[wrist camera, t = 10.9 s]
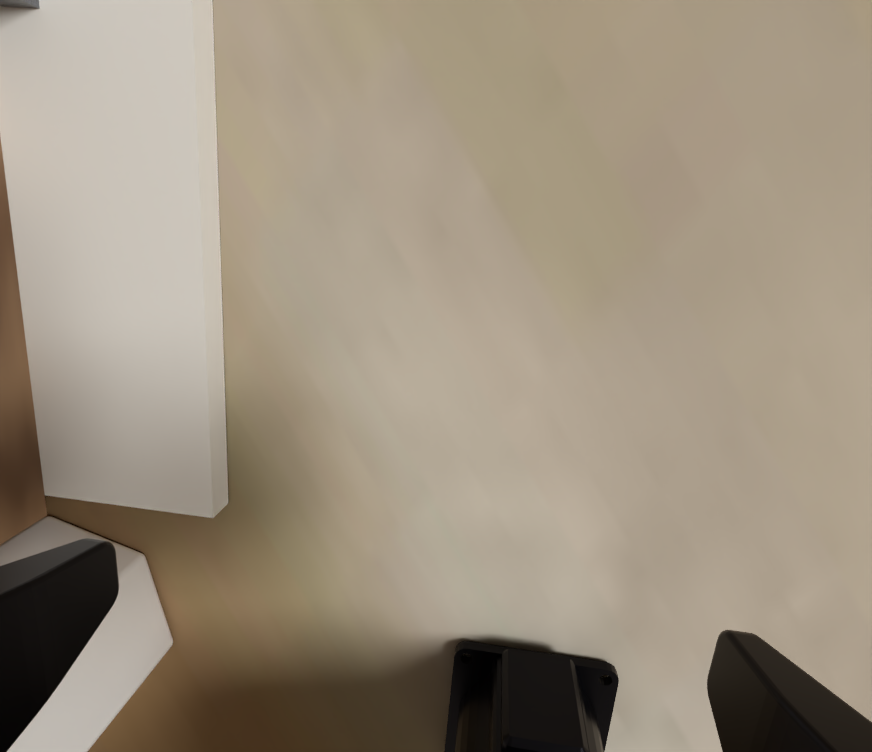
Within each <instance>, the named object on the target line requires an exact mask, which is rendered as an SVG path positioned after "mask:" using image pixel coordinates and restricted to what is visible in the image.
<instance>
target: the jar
mask: <svg viewBox="0 0 872 752" xmlns="http://www.w3.org/2000/svg"><path fill="white" fill-rule="evenodd" d="M85 538H90V539H97V540H104V541H109V542H111V543H112V544H113V545H114V547H115V550H116V559H117V569H118V579H119V592H118V596H117V599H116V601H115V603H114V605H113V606H112V608H111V609H110V611H109V612H108V614H107V615H106V617H105V618H104V620H103V621H102V623H101V624H100V625H99V627H98V628H97V630H96V631H95V633H94V634H93V636H92V637H91V639H90V640H89V642H88V643H87V645H86V646H85V648H84V649H83V650H82V652H81V653H80V655H79V656H78V658H77V659H76V661H75V662H74V664H73V665H72V667H71V668H70V670H69V671H68V672H67V674H66V675H65V677H64V678H63V680H62V681H61V683H60V684H59V686H58V687H57V688H56V690H55V691H54V692H53V694H52V695H51V697H50V698H49V699H48V701H47V702H46V703H45V705H44V706H43V707H42V709H41V710H40V711H39V712H38V714H37V715H36V716H35V718H34V719H33V720H32V721H31V722H30V724H29V725H28V726H27V727H26V729H25V730H24V731H23V732H22V734H21V735H20V736H19V737H18V739H17V740H16V741H15V742H14V743H13V745H12V746H11V747H10V748H9V750H8V751H7V752H88V751H89V749H90V748H91V747H92V745H93V744H94V743H95V742H96V740H97V739H98V738H99V737H100V735H101V734H102V733H103V732H104V730H105V729H106V728H107V727H108V725H109V724H110V723H111V722H112V720H113V719H114V718H115V717H116V715H117V714H118V713H119V712H120V710H121V709H122V708H123V707H124V705H125V704H126V703H127V702H128V700H129V699H130V698H131V697H132V695H133V694H134V693H135V692H136V690H137V689H138V688H139V687H140V685H141V684H142V683H143V682H144V680H145V679H146V678H147V677H148V675H149V674H150V673H151V672H152V670H153V669H154V668H155V667H156V665H157V664H158V663H159V661H160V660H161V659H162V658H163V656H164V655H165V654H166V653H167V651H168V650H169V649H170V648H171V646H172V644H173V638H172V635H171V632H170V629H169V626H168V623H167V620H166V617H165V614H164V611H163V608H162V605H161V602H160V599H159V596H158V593H157V590H156V587H155V584H154V581H153V578H152V575H151V572H150V569H149V566H148V563H147V560H146V557H145V555H144V554H142V553H140V552H138V551H135V550H133V549H130V548H128V547H125V546H123V545H120V544H118V543H116V542H113V541H111V540H108V539H106V538H103V537H101V536H98V535H96V534H93V533H91V532H88V531H86V530H84V529H81V528H79V527H76V526H74V525H71V524H69V523H66V522H64V521H61V520H59V519H56V518H54V517H51V516H46V517H44V518H42V519H41V520H39V521H38V522H36V523H34V524H33V525H31V526H29V527H28V528H26V529H25V530H23V531H21V532H20V533H18V534H17V535H15V536H13V537H12V538H10V539H9V540H7V541H5V542H4V543H2V544H1V545H0V566H2V565H5V564H8V563H11V562H14V561H17V560H20V559H23V558H26V557H29V556H32V555H35V554H38V553H41V552H44V551H47V550H50V549H53V548H56V547H59V546H62V545H65V544H68V543H71V542H74V541H77V540H80V539H85Z"/></svg>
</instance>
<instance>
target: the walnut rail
mask: <svg viewBox="0 0 872 752" xmlns="http://www.w3.org/2000/svg"><path fill="white" fill-rule="evenodd" d="M46 516H47V510H46V502H45V494H44V486H43V477H42V469H41V461H40V453H39V445H38V437H37V429H36V421H35V413H34V405H33V396H32V388H31V380H30V372H29V364H28V356H27V348H26V340H25V332H24V324H23V315H22V307H21V299H20V291H19V283H18V275H17V267H16V259H15V251H14V243H13V234H12V226H11V218H10V210H9V202H8V194H7V186H6V178H5V170H4V162H3V153H2V145H1V137H0V545H1V544H2V543H4V542H5V541H7V540H9V539H10V538H12V537H13V536H15V535H17V534H18V533H20V532H21V531H23V530H25V529H26V528H28V527H29V526H31V525H33V524H34V523H36V522H38V521H39V520H41V519H42V518H44V517H46Z"/></svg>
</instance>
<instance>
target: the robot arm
mask: <svg viewBox="0 0 872 752" xmlns="http://www.w3.org/2000/svg"><path fill="white" fill-rule="evenodd" d="M118 592H119V579H118V569H117V559H116V550H115V547H114V545H113V544H112V543H111V542H109V541H104V540H97V539H90V538H85V539H80V540H77V541H74V542H71V543H68V544H65V545H62V546H59V547H56V548H53V549H50V550H47V551H44V552H41V553H38V554H35V555H32V556H29V557H26V558H23V559H20V560H17V561H14V562H11V563H8V564H5V565H2V566H0V752H7V751H8V750H9V748H10V747H11V746H12V745H13V743H14V742H15V741H16V740H17V739H18V737H19V736H20V735H21V734H22V732H23V731H24V730H25V729H26V727H27V726H28V725H29V724H30V722H31V721H32V720H33V719H34V718H35V716H36V715H37V714H38V712H39V711H40V710H41V709H42V707H43V706H44V705H45V703H46V702H47V701H48V699H49V698H50V697H51V695H52V694H53V692H54V691H55V690H56V688H57V687H58V686H59V684H60V683H61V681H62V680H63V678H64V677H65V675H66V674H67V672H68V671H69V670H70V668H71V667H72V665H73V664H74V662H75V661H76V659H77V658H78V656H79V655H80V653H81V652H82V650H83V649H84V648H85V646H86V645H87V643H88V642H89V640H90V639H91V637H92V636H93V634H94V633H95V631H96V630H97V628H98V627H99V625H100V624H101V623H102V621H103V620H104V618H105V617H106V615H107V614H108V612H109V611H110V609H111V608H112V606H113V605H114V603H115V601H116V599H117V596H118ZM463 654H470V655H471V656H469V657H466V656H464V655H463ZM603 675H608V677H605V678H602V677H601V676H603ZM617 687H618V675H617V671H616V669H615V667H614V666H613V665H612V664H610V663H607V662H601V661H595V660H588V659H581V658H575V657H568V656H562V655H555V654H548V653H542V652H535V651H529V650H522V649H515V648H509V647H502V646H496V645H489V644H482V643H476V642H469V641H464V642H461V643H459V644H458V645H457V646H456V649H455V656H454V666H453V675H452V685H451V695H450V705H449V715H448V724H447V734H446V744H445V752H604V751H605V746H606V741H607V736H608V731H609V726H610V721H611V717H612V712H613V707H614V702H615V697H616V692H617ZM707 689H708V696H709V700H710V704H711V708H712V712H713V716H714V719H715V723H716V727H717V731H718V735H719V739H720V743H721V747H722V750H723V752H872V722H871V721H869V720H868V719H867V718H865V717H864V716H863V715H861V714H860V713H859V712H857V711H856V710H855V709H853V708H852V707H851V706H849V705H848V704H847V703H845V702H844V701H843V700H842V699H840V698H839V697H838V696H836V695H835V694H834V693H832V692H831V691H830V690H828V689H827V688H826V687H824V686H823V685H822V684H820V683H819V682H818V681H816V680H815V679H814V678H812V677H811V676H810V675H809V674H807V673H806V672H805V671H803V670H802V669H801V668H799V667H798V666H797V665H795V664H794V663H793V662H791V661H790V660H789V659H787V658H786V657H785V656H783V655H782V654H781V653H779V652H778V651H777V650H776V649H774V648H773V647H772V646H770V645H769V644H768V643H766V642H765V641H764V640H762V639H761V638H760V637H758V636H757V635H755V634H752V633H747V632H739V631H732V630H725V631H723V632H721V633H720V635H719V637H718V640H717V643H716V647H715V651H714V655H713V659H712V663H711V666H710V670H709V674H708V680H707Z"/></svg>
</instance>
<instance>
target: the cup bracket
mask: <svg viewBox="0 0 872 752" xmlns="http://www.w3.org/2000/svg"><path fill="white" fill-rule="evenodd" d="M0 5H1V6H3V7H13V8H37V9H40V6H39V0H0Z"/></svg>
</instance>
